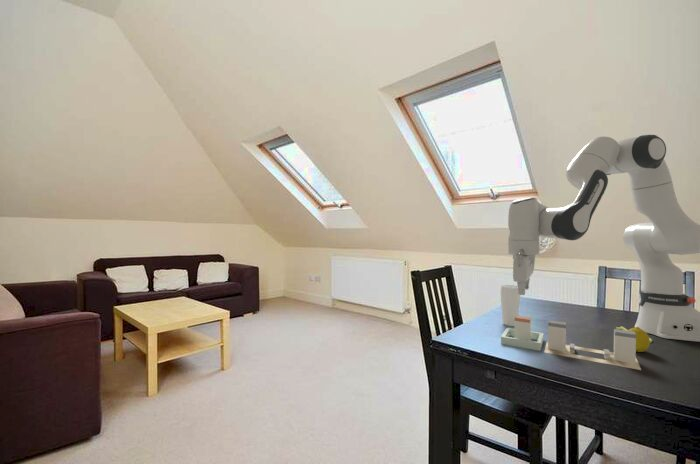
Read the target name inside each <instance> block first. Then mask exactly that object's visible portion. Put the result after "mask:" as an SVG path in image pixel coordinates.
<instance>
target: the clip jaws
mask: <svg viewBox="0 0 700 464" xmlns="http://www.w3.org/2000/svg"><path fill="white" fill-rule="evenodd" d="M569 345H570V353H572V354H575V355H576V351H575V350H576V349H575V346H576V345H575V343H571V342H570V343H569ZM603 351H604V354H603V358H604V359H603V360H610V352H611V351H610V349H608V348H603Z"/></svg>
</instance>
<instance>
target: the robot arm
mask: <svg viewBox="0 0 700 464" xmlns="http://www.w3.org/2000/svg"><path fill="white" fill-rule="evenodd" d="M666 154H667V146H666V143H665V141H664V140H663V139H662V138H661V137H659V135H657V134H644V135H639V136H636V137H630V138H625V139H621V140H618V141H617V140H616V139H614V138H612V137H610V136H597V137H595V138H592V139H591V140H590V141H589V142H588V143H587V144H586V145H584V146H583V148H581V149H580V150H579V152H578V153H576V155H575V156H574V158H573V159H572V160H571V161H570V163H569V164H568V166H567V168H566V171H565V176H566V179H567V181H568V182H569V183H570V185H572V186H573V187H574V188H575V189H578V190H579V192H578V195H577V196H576V198H575V199H574V201H573V202H572V203H571V204H568V205H567V206H561V207H548V206H546V205H544V204H542V203H540V202H539V201H538V199H537V198H536V197H524V198H518V199H514V200H513V201H511V202H510V204H509V208H508V217H507V218H508V219H507V220H508V221H507V222H508V223H507V226H508V229H509V230H508V231H509V235H508V239H507V241H508V244H507V245H508V247H507V248H508V254H509V255H512V260H513V261H512V265H513V266H512V269H513V270H512V278H513V279H512V281H513V282H517V285H516V286H518V293H519V295H520V296H525V294H526V290H529V289H530V280H531V276H532V275H533V273H534V272H535V271H534V269H535V263H536V256H538V255H540V238H548V239H559V240H566V241H577V240H579V239H581V238H582V237H584V235H586V233H587V232H588V231H589V227H590V223H591V220H592V217H593V215H594V213H595V211H596V209H597V207H598V205H599V204H600V202H601V199H602V197H604V194H605V192H606V189H607V188H608V187H607V186H608V183H609V179H608V176H611V175H615V174H625V173H627V174H628V178H629V179H628V181H629V186H630V192H631V196H632V200H633V204H634V208H635V210H636V211H637V212H639V213H640V214H642V215H644V216H645V217H646V218H647V219H648V220H649V221H650V222H649V221H648V222H639V223H635V224H631V225H629V226H627V227H626V228H625V230H624V232H623V235H622V240H623V243H624V245H626V247H627V248H629V249H630V250H631V251H632V253H633V254H634V256H635V257H636V259H637V262H638V264H639V267H640V289H639V293H638V304H639V310H638V315H637V319H636V322H635V325H634V327H633V328H635V327H639V328H640V329H642V330H644V331H645V332H646V333H647V334H651V335H654V336H657V337H659V338H663V339H669V340H679V341H689V342H697V343H700V310H697V309H696V308H695V307H693V306H692V304H693V305H694V304H695V303H696V299H695V298H694V297H692V296H689V295H687V294H685V293H684V272H683V271H682V269H681V268H680V267H679V266H677V265H675V263H673V262H672V260H671V258H670V256H669V255H679V256H682V255H683V256H685V255H695V254H700V224H699V223H697V222H695V221H694V220H693V219H691V217H689V216H688V215H687V214H686V212H684V210H683V208H682V207H681V206H680V204H679V201H678V199H677V197H676V192H675V188H674V184H673V180H672V175H671V173H670V169H669V168H668V165H667V163H666V160H665V156H666Z"/></svg>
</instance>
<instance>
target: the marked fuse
mask: <svg viewBox="0 0 700 464" xmlns="http://www.w3.org/2000/svg"><path fill="white" fill-rule="evenodd" d="M513 329H514V336H513V338H518V339H524V340H530V341H532V339H531V331H532V317H531V316H530V317H528V316H522V315H518V316H515V319H514V326H513Z"/></svg>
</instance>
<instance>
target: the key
mask: <svg viewBox="0 0 700 464" xmlns="http://www.w3.org/2000/svg"><path fill="white" fill-rule="evenodd" d="M615 329H618V330H625V331H628V330H629V329H627V328H625V327H624V326H619V327H618V326H615ZM649 341H650V344H651V343H652V342H653V339H652V338H651V337H649Z"/></svg>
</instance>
